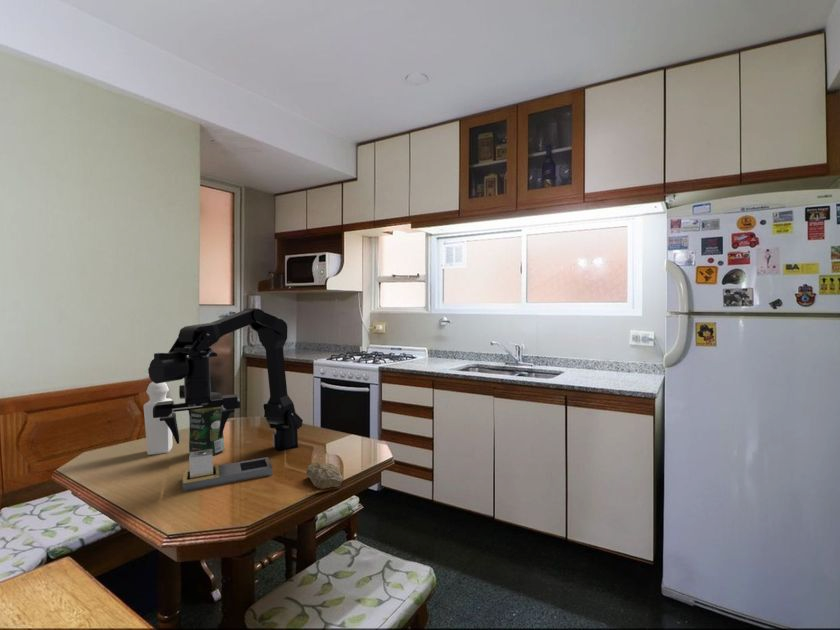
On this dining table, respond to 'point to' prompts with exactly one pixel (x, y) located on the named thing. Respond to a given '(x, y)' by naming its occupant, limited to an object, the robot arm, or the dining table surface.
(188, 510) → the dining table surface
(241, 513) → the dining table surface
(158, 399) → the white bottle
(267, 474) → the grey socket board
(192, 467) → the square slider block
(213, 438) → the coffee jar
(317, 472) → the rock
